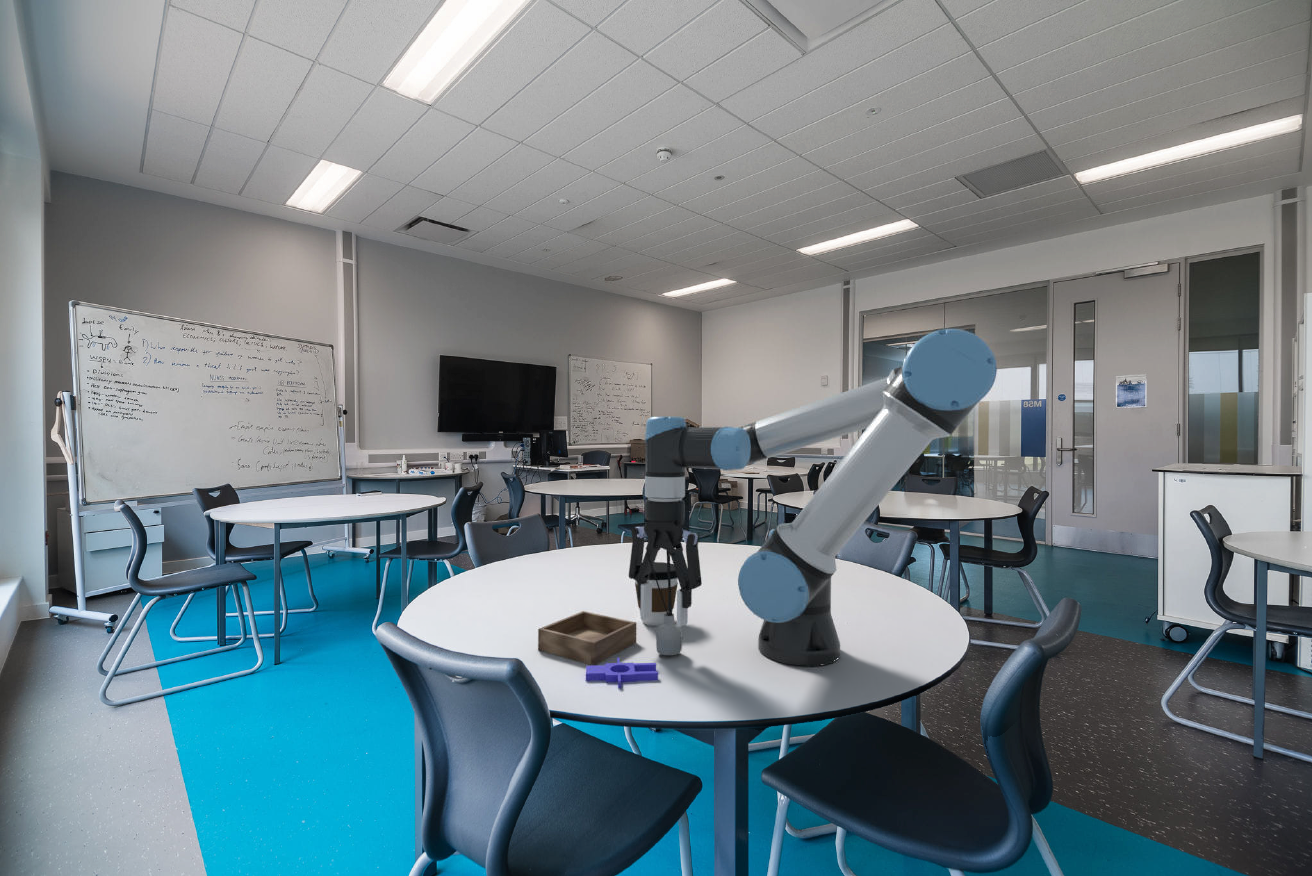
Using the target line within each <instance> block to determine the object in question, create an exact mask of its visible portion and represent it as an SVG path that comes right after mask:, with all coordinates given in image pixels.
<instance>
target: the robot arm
mask: <svg viewBox="0 0 1312 876" xmlns="http://www.w3.org/2000/svg"><path fill="white" fill-rule="evenodd" d="M997 373H998V368H997V359H996V357H995V355H994V352H993V351H992V348H990V346H989V345H988V344H987V342H986V341H985V340H984V339H982V338H981V337H979V336H978V335H976V334H975V333H972V332H971V331H966V330H964V329H959V328H944V329H938V330H935V331H933V332H930V333H927V334H926V335H924V336H923V337H921V338H920V339H919V340H917V341H915V343H914V344H913V345H912V346H911V347H910V348H909V349H908V351H907V354H906V356H905V358H904V359H903V364H902V366H898V367H896V368H894V369H891V371H890V373H889V375H888V376H887V377H885V378H882V379H879V380H877V381H873V382H870V383H867V384H864V385H861V386H858V387H856V388H851V389H850V390H846V391H844V392H840V393H837V394H834V395H832V396H829V397H826V398H823V399H819V400H817V401H813V402H811V403H810V402H809V403H807V404H804V405H803V406H799V407H795V408H793V409H790V410H787V411H783V412H780V413H778V414H775V415H772V416H769V417H766V418H763V419H760V420H757V421H755V422H752V423H748V424H745V425H742V426H739V427H733V426H718V427H715V426H714V427H709V426H708V427H705V426H704V427H692V426H691V427H689V426H687V423H686V419H685V418H684V417H683V416H682V417H681V416H651V417H649V418H648V419H647V421H646V425H645V427H646V428H645V439H644V443H645V476H644V496H645V498H647V499H645V501H644V518H645V524H644V525H643V526H641V525H639V526H635V527H632V528H631V530H630V531H631V532H630V533H631V538H632V544H631V550H630V551H631V553H630V560H629V567H628V568H629V569H628V578H629V579H631V580H634V581H635V580H636V581H637V583H638V599H639V600H641V616H640V619H646V618H648V617H650V616H652V582H647V581H648V580H650V578H649V576H650V573H651V570H652V568H651V565H650V562H649V559H648V556H647V553H646V551H648V554H649V557H650V560H651V563H652V566H653V564H654V562H656V558H657V556H658V553H659V551H660V550H661V549H662V550H664V551H665V550H668V553H669V555H670V559H671V561H672V564H674V568H675V571H676V574H677V577H678V580H677V581H678V584H679V586H680V588H679V589H678V590H677V591H676V626H677V627H679V628H681V627H683V626H685V625H687V624H688V623H689V622H688V613H689V611H688V609H689V608H691V606H692V603H693V601H692V596H693V595H692V594H693V593H692V592H693V590H694V589H697V588H699V587H701V586H702V574H701V565H700V555H699V553H700V552H699V541H700V536H701V535H700V534H699V532H691V531H689V530H687V529H686V527H685V517H686V502H685V501H684V500H683V498H685V497H686V469H704V470H705V469H706V470H709V469H710V470H723V471H733V470H743V469H744V468H745V467H747V466H751V465H754V464H755V463H758V462H760V461H763V460H766V459H769V458H773V457H775V456H779V455H783V454H787V453H789V452H793V451H795V450H799V449H802V448H806V447H809V446H812V445H815V444H818V443H822V442H825V441H829V440H832V439H836V438H839V437H842V436H846V435H849V434H852V433H855V432H858V431H863V430H864V431H863V432H862V434H861V435H860V436H859V438H858V439H857V440H855V443H854V444H853V445H852V446H851V447H850V448H849V450H848V452H846V454H845V455H844V457H843V458H842V459H841V460H840V461H839V463H838V464H837V465H836V467H834V469H833V471H832V472H831V473H830V474H829V476H827V477H826V480H825V481H824V482H823V483H822V484H821V485H820V487H819V488H818V489H817V490H816V492H815V493H814V494H813V496H811V498H810V500H809V501H808V502H807V504H806V505H805V506H804V507H803V508H802V510H801V511H800V513H799V514H798V515H796V517H795V519H794V520H793V521H792V522H790V523H789V522H788V523H786V522H785V523H780V524H778V525H777V526H776V528H772V529H770V531H769V533H768V538H767V539H766V540H765V541H764V543H763V544H762V545H761V546H760V548H759V549H758V550H757V551H756V552H754V553H752V554H751V555H750V556H749V555H748V557H747V558H746V559H745V561H744V562H743V564H742V566H741V567H740V570H739V572H738V577H737V584H738V589H739V595H740V597H741V599H742V601H743V603H744V604H745V606H746V607H747V609H748V610H749V611H751V613H753V615H755V616H756V617H757V618H760V619H761V620H763V621H762V624H761V628H760V630H759V634H758V637H757V638H758V640H757V641H758V646H757V648H758V649H757V650H759V652H760V654H762V655H763V656H765V657H766V658H768V659H771V660H773V661H776V662H779V663H782V664H786V665H792V666H799V665H820V666H822V665H821V664H827V663H830V662H833V661H834V660H836V659H837V658H839V656H840V657H841V641H840V638H839V635H838V632H837V629H836V625H835V623H834V620H833V616H832V611H831V609H832V608H831V607H832V606H831V605H832V576H834V574H835V573H836V572H837V562H836V556H837V555H838V554H839V553H840V551H841V550H842V549H843V548H844V547H845V546H846V544H847V543H848V542H849V541H850V539H851V538H852V537H853V536H854V535H855V533H856V532H858V530H859V529H860V527H861V526H862V525H863V524H864V523H865V522H866V520H867V519H868V518H869V517H870V515H871V514H872V513H873V512H874V510H875V509H876V508H877V507H878V506H879V504H880V503H881V502H882V501H883V500H884V499H885V498H886V496H887V495H888V493H890V492H891V491H892V489H893V488H894V487H895V486H896V485H897V483H898V482H899V480H900V479H901V478H902V477H903V476H904V475H905V474H906V472H907V471H908V470H909V469H910V467H911V466H912V465H913V464H914V463H915V461H916V460H917V459H918V458H919V457H920V456H921V455H922V453H924V451H925V449H926V448H927V447H928V446H929V445H930V444H931V442H932V441H933V440H936V439H941V438H942V439H943V438H948V437H950V436H951V435H952V434H953V433H954V432H955V430H957V428H958V427H959V425H961V423H962V422H963V421H964V420H965V419H966V417H967V416H968V415H969V414H970V413H971V411H973V409H975V407H976V406H977V405H978V404H979V402H981V400H983V399H984V398H985V397H986V395H987V394H988V393H989V392H990V391H991V390H992V388H993V385H994V383H996V382H995V380H996V377H997ZM646 537H647V538H648V540H647V543H646V547H645V541H646V539H645V538H646ZM683 538H684V544H685V554H686V556H685V555H684V548H683V545H682V540H683ZM644 548H645V549H644ZM644 550H645V554H644ZM685 558H686V559H685ZM839 659H840V658H839ZM833 663H834V662H833ZM830 664H831V663H830ZM827 665H828V664H827Z"/></svg>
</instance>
